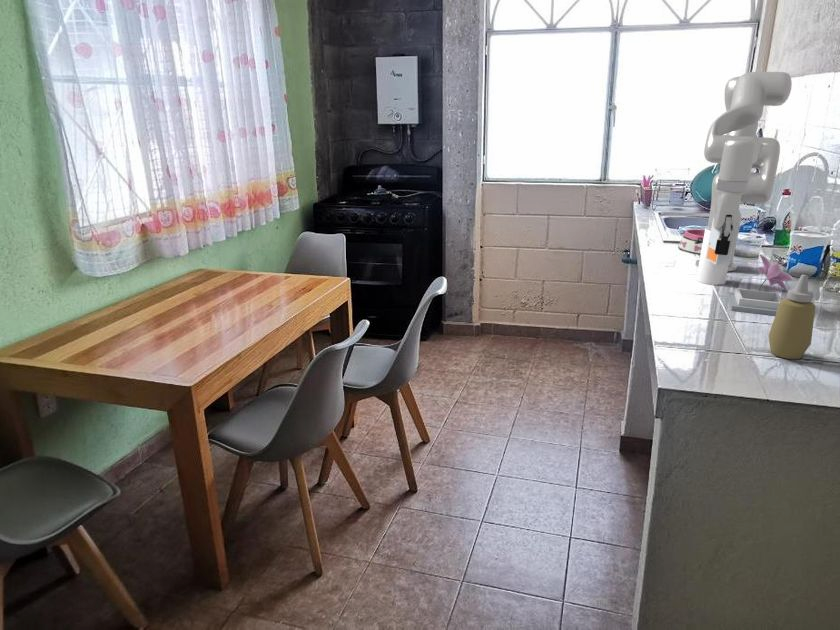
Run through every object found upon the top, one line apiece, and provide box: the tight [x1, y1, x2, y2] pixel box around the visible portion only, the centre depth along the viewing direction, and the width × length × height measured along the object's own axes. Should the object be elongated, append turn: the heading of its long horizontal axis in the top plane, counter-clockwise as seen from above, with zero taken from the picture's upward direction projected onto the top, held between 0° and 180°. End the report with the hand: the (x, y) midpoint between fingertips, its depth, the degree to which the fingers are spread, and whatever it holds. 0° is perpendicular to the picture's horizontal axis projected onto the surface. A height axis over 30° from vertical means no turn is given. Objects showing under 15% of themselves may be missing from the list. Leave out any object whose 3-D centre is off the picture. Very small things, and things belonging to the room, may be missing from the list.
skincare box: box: [706, 218, 738, 265], centre depth 168 cm, size 6×4×12 cm
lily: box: [755, 254, 796, 292], centre depth 180 cm, size 12×12×10 cm
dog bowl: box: [677, 228, 705, 256], centre depth 227 cm, size 18×19×7 cm
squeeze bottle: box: [768, 274, 816, 360], centre depth 129 cm, size 8×8×18 cm
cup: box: [695, 227, 729, 286], centre depth 185 cm, size 8×8×16 cm
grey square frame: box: [725, 287, 784, 317], centre depth 164 cm, size 14×14×3 cm
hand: (719, 250), depth 169 cm, fingers closed on skincare box, 7 cm apart
